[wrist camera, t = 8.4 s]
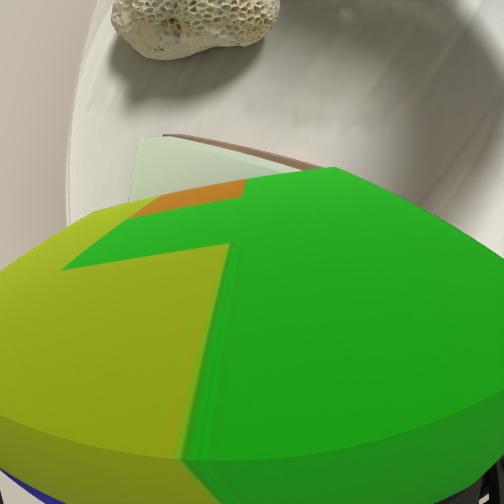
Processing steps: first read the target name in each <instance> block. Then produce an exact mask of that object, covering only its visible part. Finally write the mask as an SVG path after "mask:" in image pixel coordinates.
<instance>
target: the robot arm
mask: <svg viewBox="0 0 504 504" xmlns="http://www.w3.org/2000/svg"><path fill="white" fill-rule="evenodd" d="M487 494H489V500H488V501H486V502H485V503H483V504H504V454H503V455H502V456H501V457H500V458H499V460H498V461H497V462H496V463H495V464H494V465H493V466H492V467H491V468H490V469H488V470H487V471H486V472H485V473H484V474H483V475H482V476H481V477H480V478H479V479H478V480H477V481H476V482H474V483H473V484H472V485H471V486H470V487H469V488H467V489H466V490H465V491H464V492H463V493H461V494H460V495H459V496H458V497H457V498H455V499H454V500H453V501H451V502H450V503H449V504H479V500H480V499H481V498H483V497H484V496H486V495H487ZM0 504H4V503H3V500H2V496H1V492H0Z"/></svg>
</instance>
